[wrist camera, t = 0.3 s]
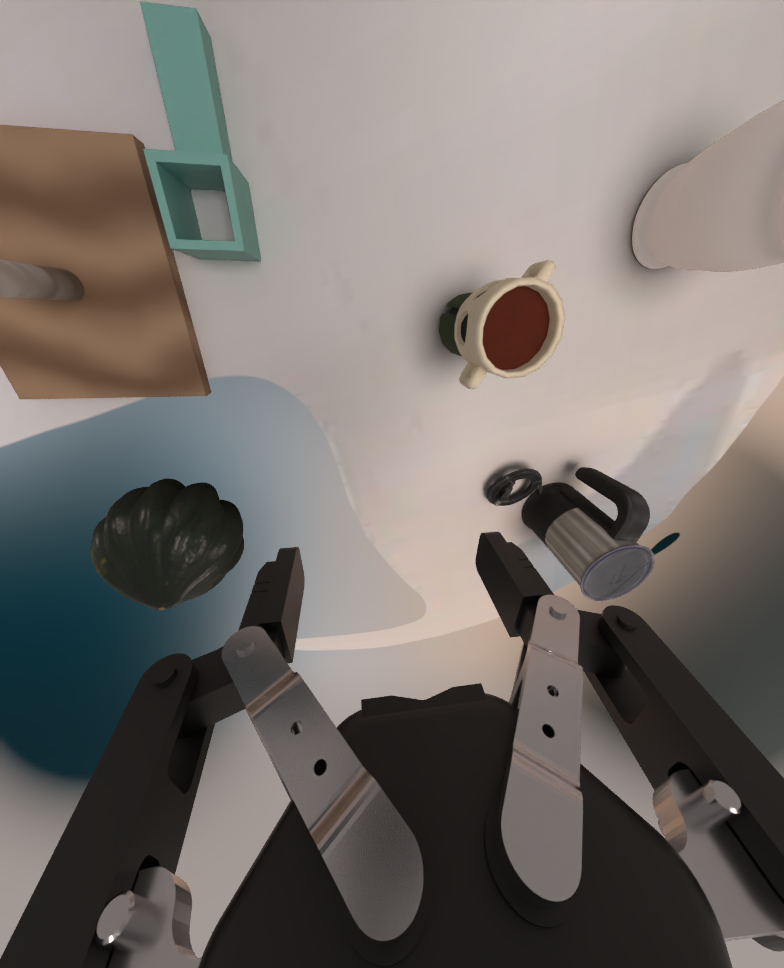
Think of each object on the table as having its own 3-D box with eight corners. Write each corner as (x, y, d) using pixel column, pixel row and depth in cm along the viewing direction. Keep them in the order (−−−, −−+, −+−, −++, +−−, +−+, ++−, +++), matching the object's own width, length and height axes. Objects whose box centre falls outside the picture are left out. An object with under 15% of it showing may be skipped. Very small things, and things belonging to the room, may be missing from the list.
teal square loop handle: (144, 29, 22) (89, -47, 18) (225, 38, 23) (193, -33, 18) (199, 259, 29) (170, 248, 24) (261, 260, 30) (244, 250, 25)
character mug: (468, 254, 31) (536, 221, 20) (518, 295, 34) (603, 286, 23) (413, 354, 35) (444, 373, 24) (461, 384, 38) (509, 414, 27)
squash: (66, 469, 32) (31, 627, 27) (221, 457, 34) (214, 602, 29) (153, 505, 45) (140, 615, 40) (260, 495, 47) (260, 598, 42)
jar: (651, 139, 29) (900, -3, 16) (739, 160, 31) (1030, 47, 18) (603, 274, 34) (762, 249, 21) (681, 286, 36) (873, 270, 23)
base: (-118, 125, 23) (-319, 44, 16) (143, 143, 25) (65, 78, 18) (32, 395, 33) (-52, 418, 26) (211, 392, 35) (177, 412, 28)
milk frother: (569, 525, 52) (642, 595, 39) (480, 540, 51) (524, 616, 38) (588, 449, 45) (684, 503, 32) (484, 464, 44) (541, 526, 31)
